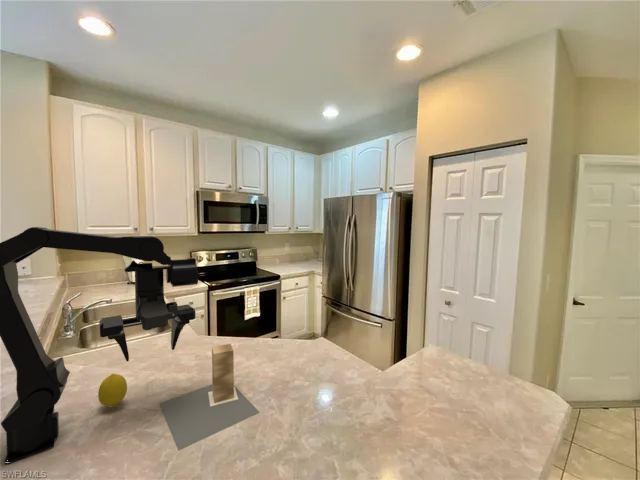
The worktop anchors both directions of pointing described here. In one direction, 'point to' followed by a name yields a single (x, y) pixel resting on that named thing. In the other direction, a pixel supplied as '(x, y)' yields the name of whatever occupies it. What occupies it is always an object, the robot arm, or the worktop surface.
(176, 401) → the mat
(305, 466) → the worktop surface
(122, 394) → the lemon
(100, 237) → the robot arm
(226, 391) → the oak block
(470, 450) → the worktop surface
